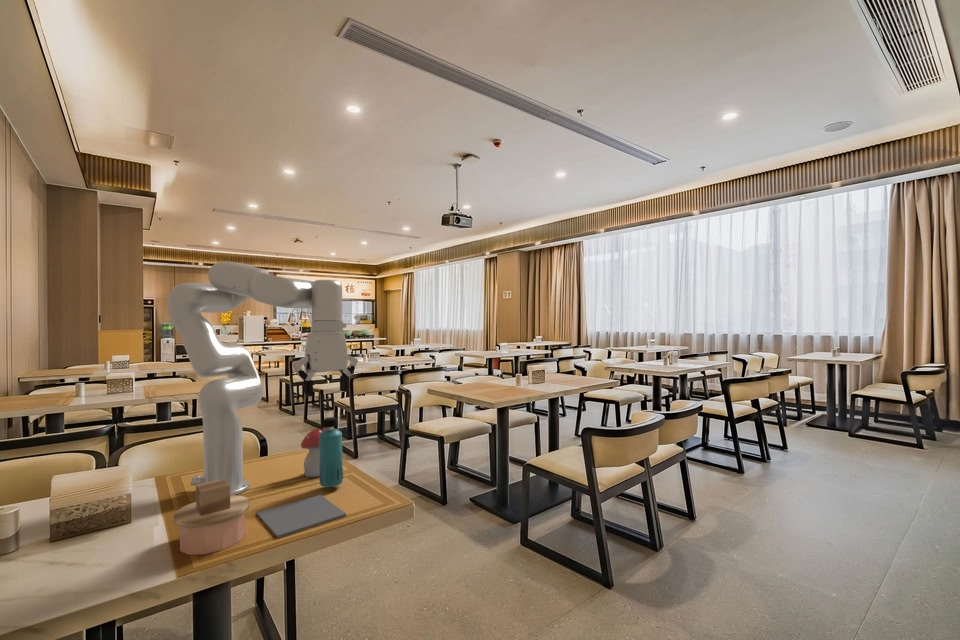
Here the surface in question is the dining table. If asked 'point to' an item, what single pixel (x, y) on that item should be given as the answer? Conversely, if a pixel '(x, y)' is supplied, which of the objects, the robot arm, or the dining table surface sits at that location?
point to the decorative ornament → (312, 453)
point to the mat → (299, 515)
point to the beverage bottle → (330, 454)
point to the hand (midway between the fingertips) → (326, 393)
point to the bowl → (212, 536)
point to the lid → (211, 506)
